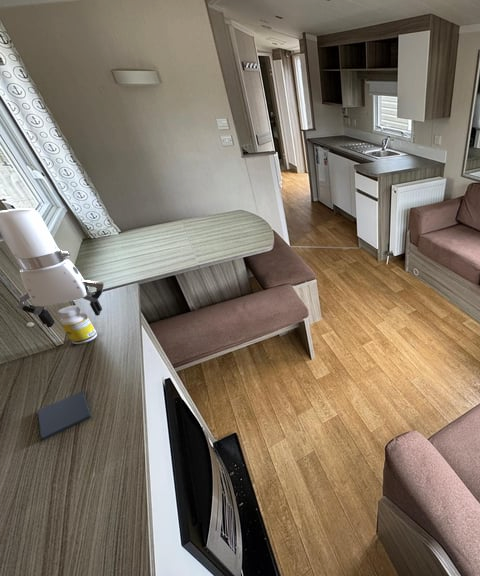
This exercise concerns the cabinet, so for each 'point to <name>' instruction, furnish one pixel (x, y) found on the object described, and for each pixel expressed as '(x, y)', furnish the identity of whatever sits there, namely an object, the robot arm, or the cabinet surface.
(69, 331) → the supplement bottle
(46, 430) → the mat
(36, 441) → the cabinet surface
